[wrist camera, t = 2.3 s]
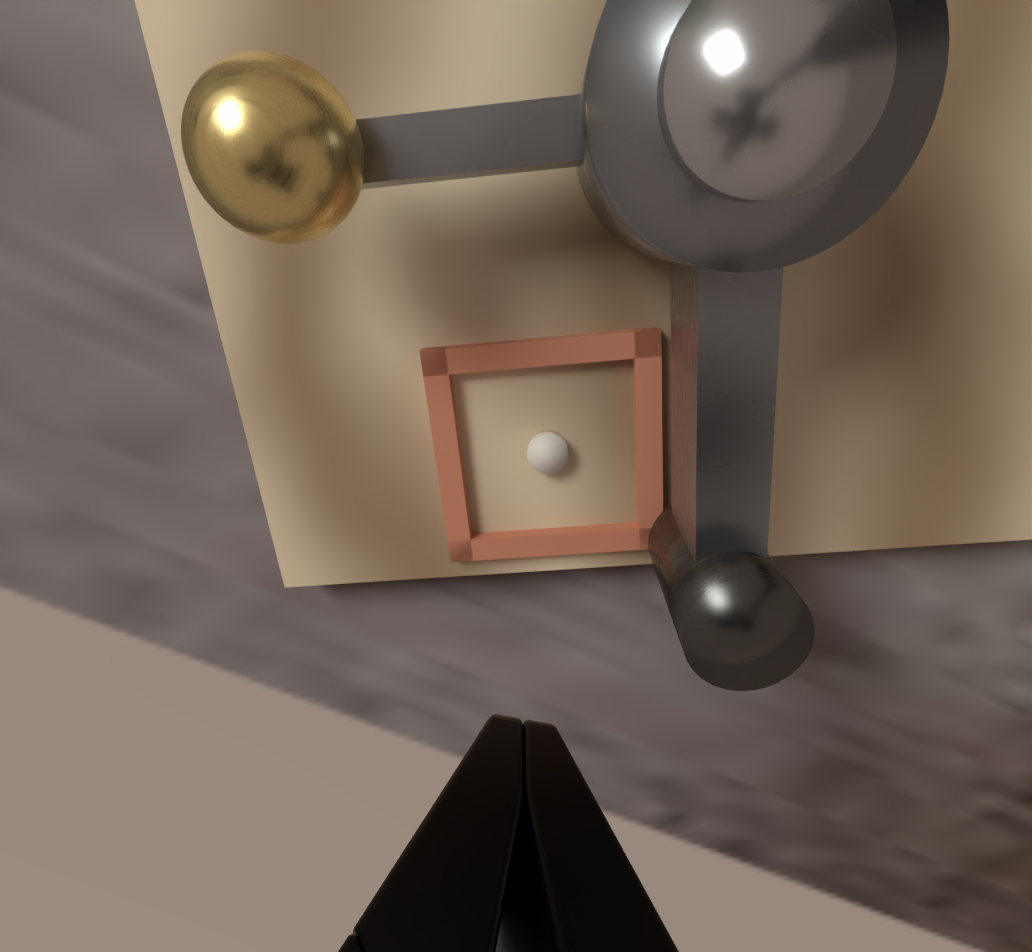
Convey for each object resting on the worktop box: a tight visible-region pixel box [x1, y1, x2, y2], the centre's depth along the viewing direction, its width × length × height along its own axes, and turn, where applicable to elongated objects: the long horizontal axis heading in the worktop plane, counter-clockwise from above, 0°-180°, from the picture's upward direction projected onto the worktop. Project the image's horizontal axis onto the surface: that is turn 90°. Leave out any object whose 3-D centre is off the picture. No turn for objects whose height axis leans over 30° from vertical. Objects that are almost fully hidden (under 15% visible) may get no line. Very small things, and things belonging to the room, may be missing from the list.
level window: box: [420, 327, 663, 562], centre depth 15 cm, size 6×6×1 cm
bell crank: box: [181, 0, 950, 691], centre depth 11 cm, size 11×20×5 cm, turn 5°
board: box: [135, 0, 1032, 587], centre depth 14 cm, size 21×20×1 cm
